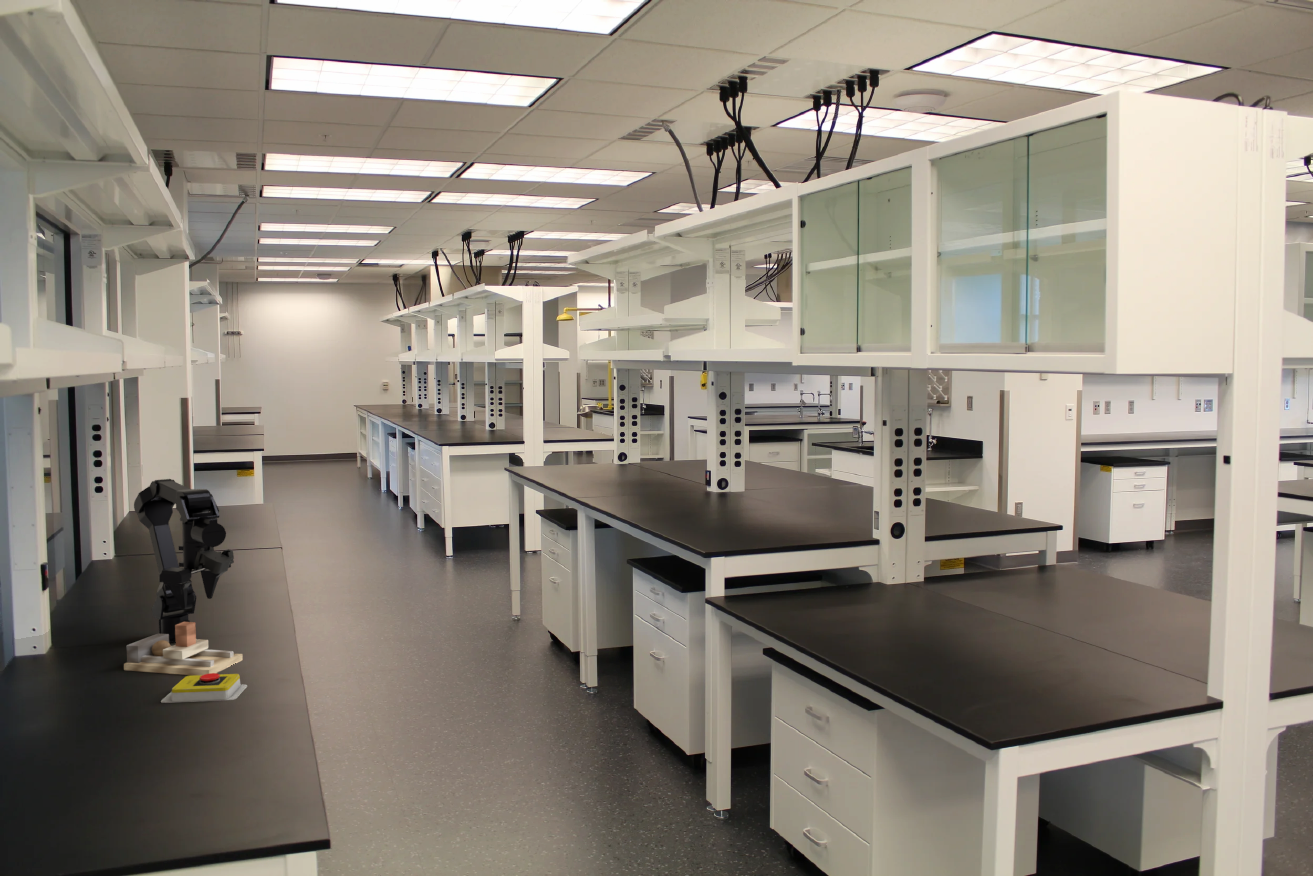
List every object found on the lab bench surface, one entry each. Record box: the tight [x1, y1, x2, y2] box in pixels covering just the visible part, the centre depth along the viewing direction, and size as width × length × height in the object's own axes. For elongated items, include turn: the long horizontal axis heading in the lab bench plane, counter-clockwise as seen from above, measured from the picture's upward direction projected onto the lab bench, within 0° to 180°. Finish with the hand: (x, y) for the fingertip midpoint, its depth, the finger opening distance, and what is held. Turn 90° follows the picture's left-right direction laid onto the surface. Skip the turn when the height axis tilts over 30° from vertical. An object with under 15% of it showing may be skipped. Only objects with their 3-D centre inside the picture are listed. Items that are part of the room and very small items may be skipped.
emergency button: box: [160, 672, 248, 704], centre depth 195 cm, size 9×4×15 cm
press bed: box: [123, 632, 244, 676], centre depth 213 cm, size 22×12×6 cm, turn 79°
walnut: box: [152, 640, 172, 657], centre depth 214 cm, size 4×4×4 cm
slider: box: [163, 621, 209, 660], centre depth 213 cm, size 5×9×7 cm, turn 169°
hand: (196, 603), depth 224 cm, fingers open, 9 cm apart
